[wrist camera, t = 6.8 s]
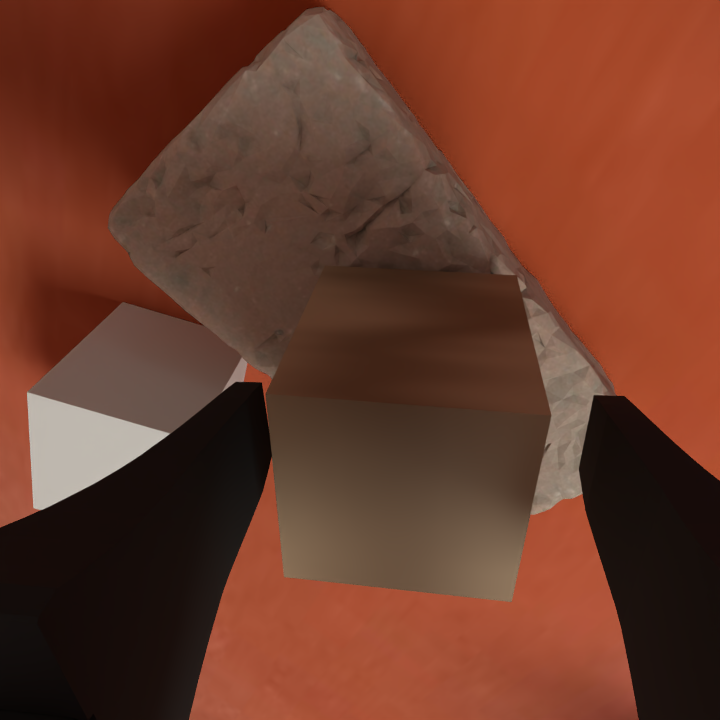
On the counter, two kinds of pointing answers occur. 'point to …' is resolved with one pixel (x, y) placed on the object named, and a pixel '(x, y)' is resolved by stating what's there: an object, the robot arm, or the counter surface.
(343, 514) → the walnut block
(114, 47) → the counter surface
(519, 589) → the counter surface
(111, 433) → the grey block
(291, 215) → the brick
